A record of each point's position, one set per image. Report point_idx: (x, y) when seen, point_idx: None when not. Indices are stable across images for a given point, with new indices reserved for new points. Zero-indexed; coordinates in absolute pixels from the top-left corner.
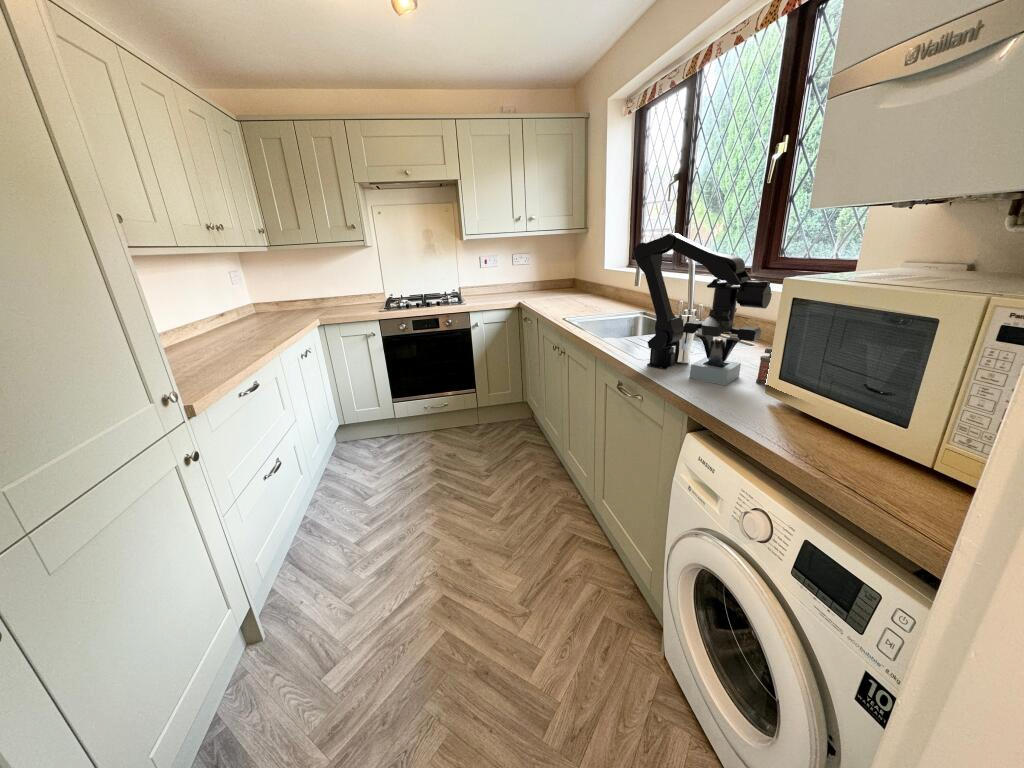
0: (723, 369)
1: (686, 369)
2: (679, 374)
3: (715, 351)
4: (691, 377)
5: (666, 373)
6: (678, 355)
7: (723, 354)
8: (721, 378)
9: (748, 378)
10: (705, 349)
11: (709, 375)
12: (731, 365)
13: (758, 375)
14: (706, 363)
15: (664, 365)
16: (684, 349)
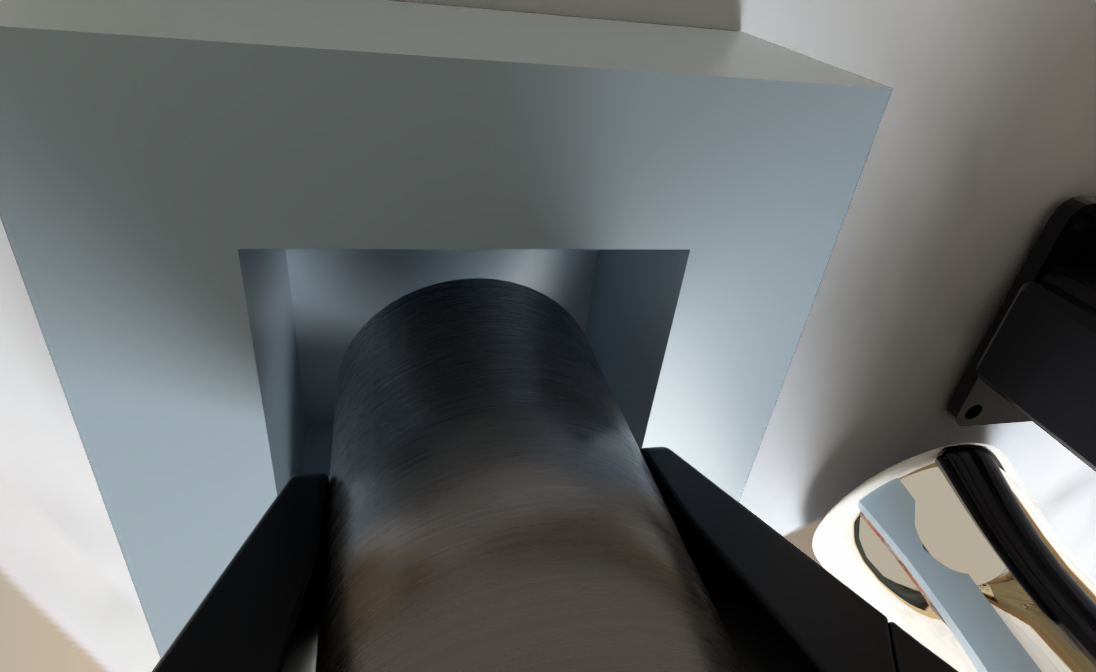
0: (134, 127)
1: (814, 363)
2: (886, 117)
3: (535, 568)
4: (718, 30)
5: (1058, 46)
6: (995, 522)
7: (326, 609)
8: (166, 1)
9: (82, 502)
10: (828, 583)
11: (436, 26)
12: (198, 495)
13: None
14: (633, 415)
15: (1093, 265)
16: (994, 627)
